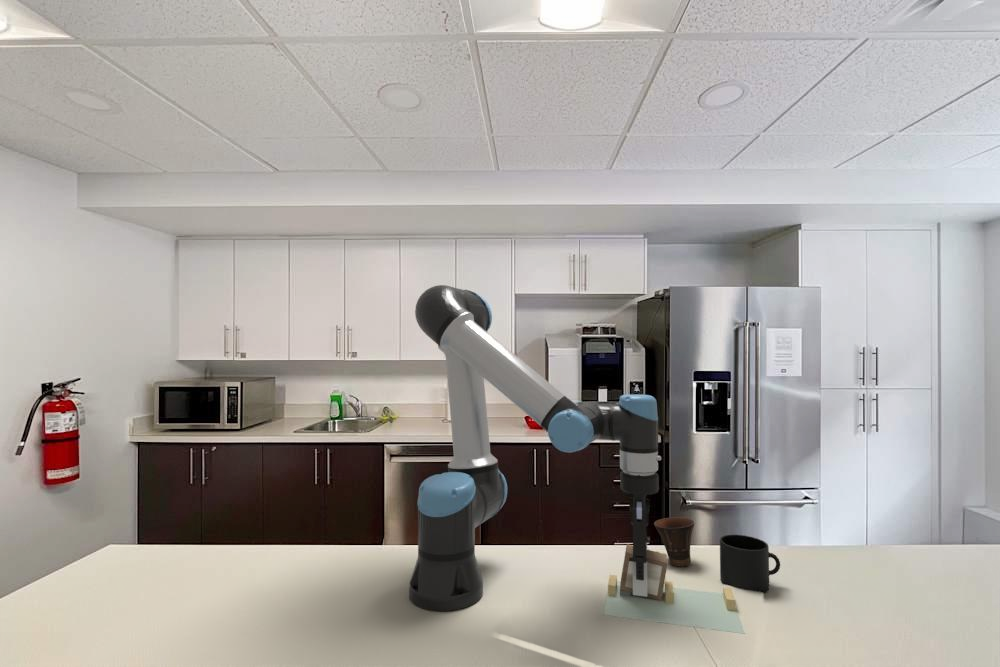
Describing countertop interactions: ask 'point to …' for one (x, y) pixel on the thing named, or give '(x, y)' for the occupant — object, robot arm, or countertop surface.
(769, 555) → the mug
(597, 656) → the countertop surface
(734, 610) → the wall board
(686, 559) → the cup
